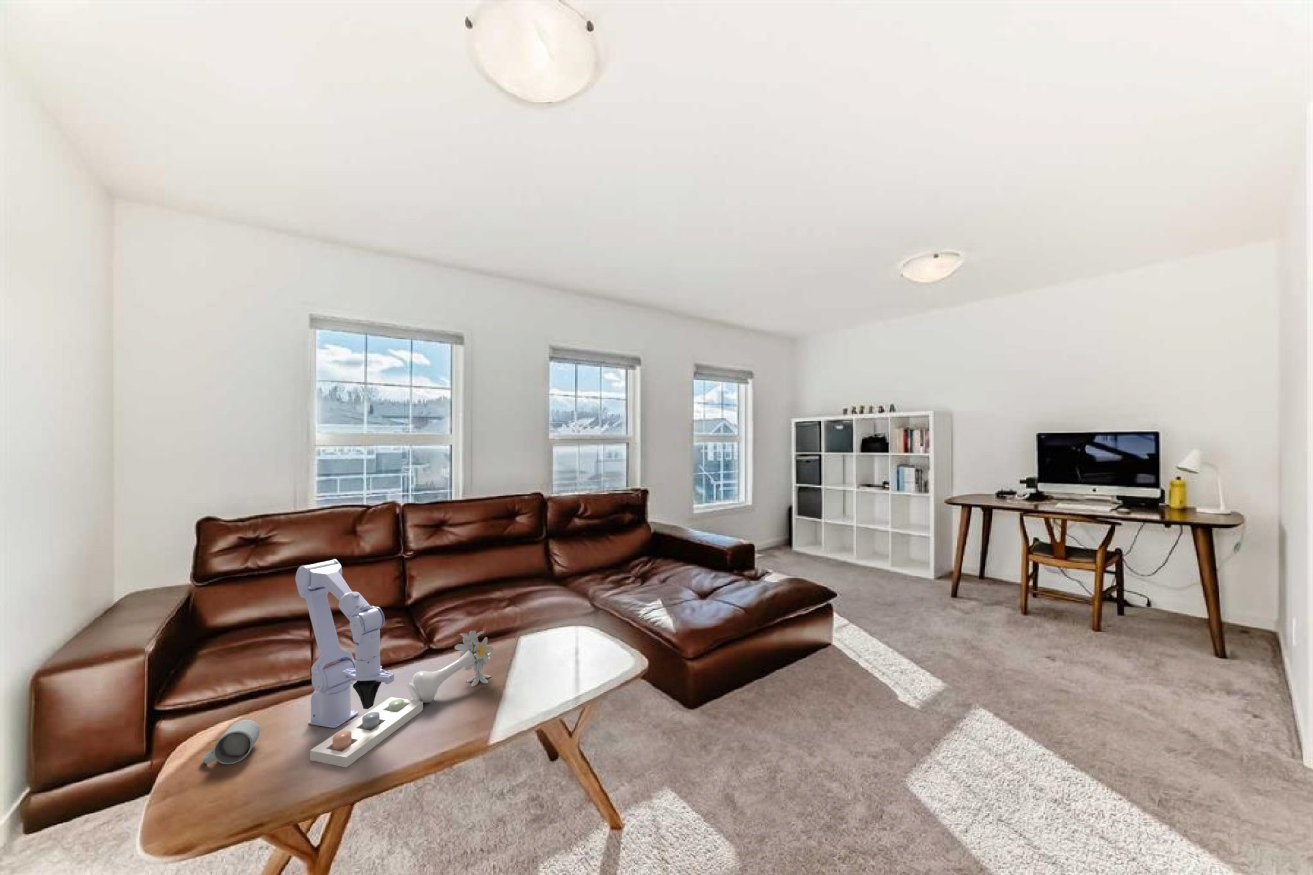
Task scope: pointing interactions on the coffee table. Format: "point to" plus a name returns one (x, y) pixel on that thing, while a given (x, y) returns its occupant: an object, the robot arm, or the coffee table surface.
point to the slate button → (370, 721)
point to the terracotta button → (342, 740)
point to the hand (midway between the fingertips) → (368, 706)
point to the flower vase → (453, 668)
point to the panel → (366, 734)
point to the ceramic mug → (234, 743)
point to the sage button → (396, 705)
